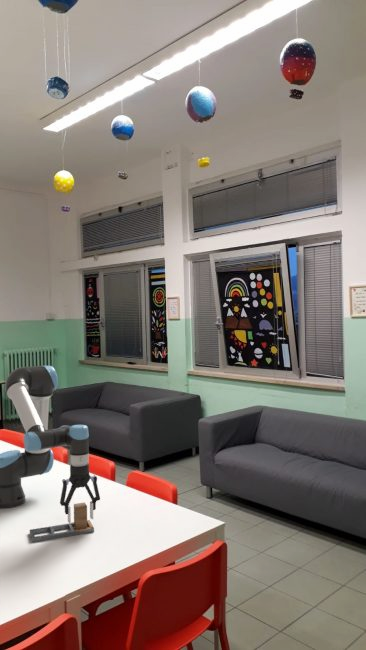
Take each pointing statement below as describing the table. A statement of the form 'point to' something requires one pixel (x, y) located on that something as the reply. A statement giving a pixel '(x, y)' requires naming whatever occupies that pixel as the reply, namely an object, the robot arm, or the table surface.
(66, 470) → the table surface
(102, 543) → the table surface
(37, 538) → the rack
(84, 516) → the walnut block
